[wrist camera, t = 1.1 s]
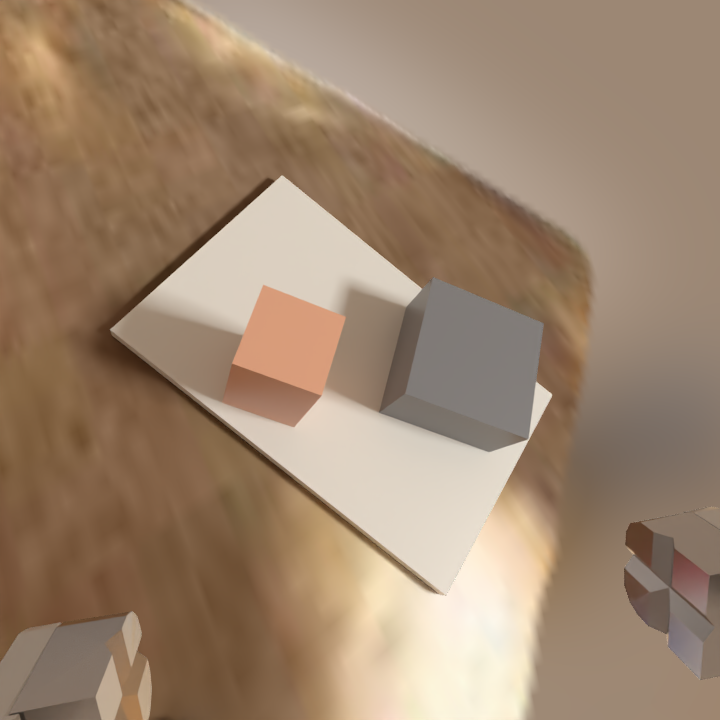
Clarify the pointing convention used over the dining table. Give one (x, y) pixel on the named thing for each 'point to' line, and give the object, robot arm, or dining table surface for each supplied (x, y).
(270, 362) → the pillar block
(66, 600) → the dining table surface
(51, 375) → the dining table surface
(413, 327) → the foundation block
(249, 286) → the baseplate
